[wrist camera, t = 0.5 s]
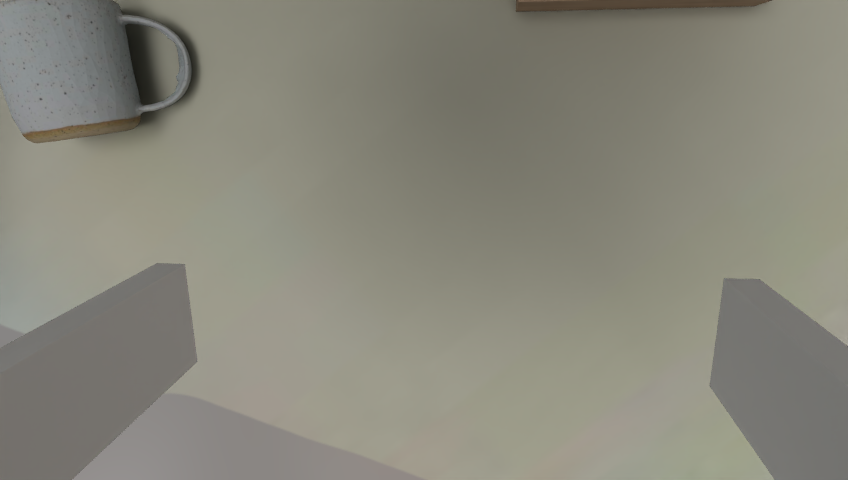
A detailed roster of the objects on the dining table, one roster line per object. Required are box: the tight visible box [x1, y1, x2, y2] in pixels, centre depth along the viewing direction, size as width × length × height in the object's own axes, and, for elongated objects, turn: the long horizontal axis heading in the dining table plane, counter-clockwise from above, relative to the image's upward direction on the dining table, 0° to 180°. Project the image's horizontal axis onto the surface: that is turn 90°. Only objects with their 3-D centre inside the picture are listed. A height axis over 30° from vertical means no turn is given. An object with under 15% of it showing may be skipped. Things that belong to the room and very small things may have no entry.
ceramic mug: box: [0, 0, 192, 143], centre depth 36 cm, size 11×8×8 cm
